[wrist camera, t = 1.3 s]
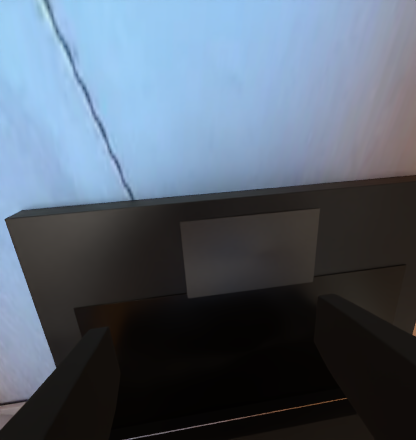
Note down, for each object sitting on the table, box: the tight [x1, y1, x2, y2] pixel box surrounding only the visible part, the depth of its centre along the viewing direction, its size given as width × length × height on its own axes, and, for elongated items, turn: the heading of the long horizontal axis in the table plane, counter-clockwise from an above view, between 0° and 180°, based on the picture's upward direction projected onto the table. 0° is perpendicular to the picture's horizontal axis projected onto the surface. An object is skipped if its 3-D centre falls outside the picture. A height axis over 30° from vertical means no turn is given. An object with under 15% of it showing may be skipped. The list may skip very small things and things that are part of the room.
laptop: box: [5, 175, 416, 440], centre depth 21 cm, size 21×30×2 cm
